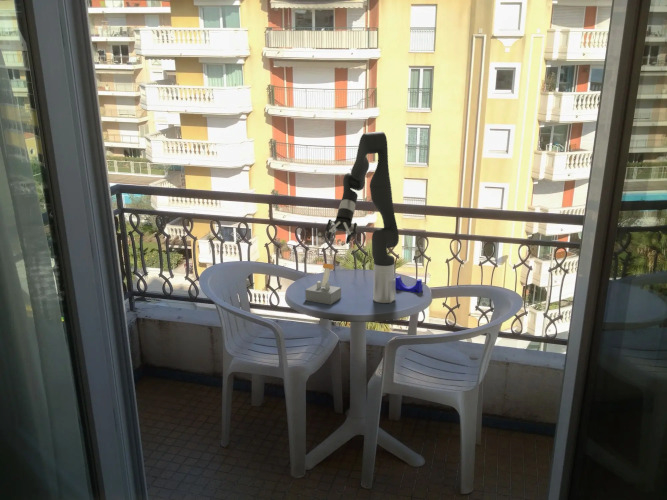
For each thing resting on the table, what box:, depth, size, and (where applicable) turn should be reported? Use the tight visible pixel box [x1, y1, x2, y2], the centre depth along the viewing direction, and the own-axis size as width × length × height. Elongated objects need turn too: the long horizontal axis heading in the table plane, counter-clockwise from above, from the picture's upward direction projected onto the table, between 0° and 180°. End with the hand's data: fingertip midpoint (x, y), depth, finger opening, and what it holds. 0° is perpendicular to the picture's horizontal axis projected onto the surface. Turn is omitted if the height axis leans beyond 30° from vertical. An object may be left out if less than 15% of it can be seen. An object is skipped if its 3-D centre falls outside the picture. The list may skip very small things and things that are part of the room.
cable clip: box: [395, 275, 424, 294], centre depth 283 cm, size 12×4×6 cm, turn 63°
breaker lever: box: [321, 263, 335, 287], centre depth 270 cm, size 4×2×10 cm, turn 63°
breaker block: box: [304, 280, 342, 305], centre depth 269 cm, size 13×10×8 cm
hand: (338, 241), depth 273 cm, fingers open, 8 cm apart
